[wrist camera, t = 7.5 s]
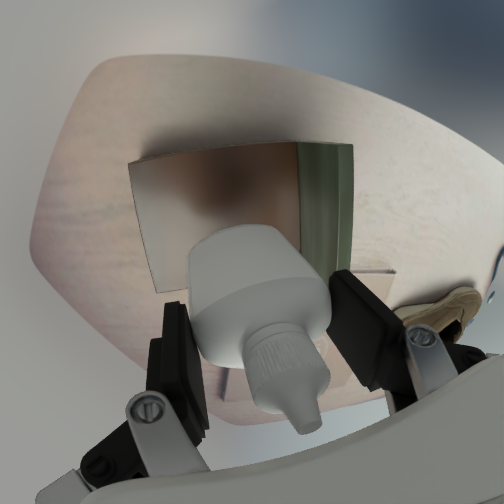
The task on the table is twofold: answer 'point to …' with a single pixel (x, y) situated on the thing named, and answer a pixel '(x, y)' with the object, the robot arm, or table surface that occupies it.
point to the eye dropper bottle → (262, 317)
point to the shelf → (245, 201)
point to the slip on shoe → (445, 313)
